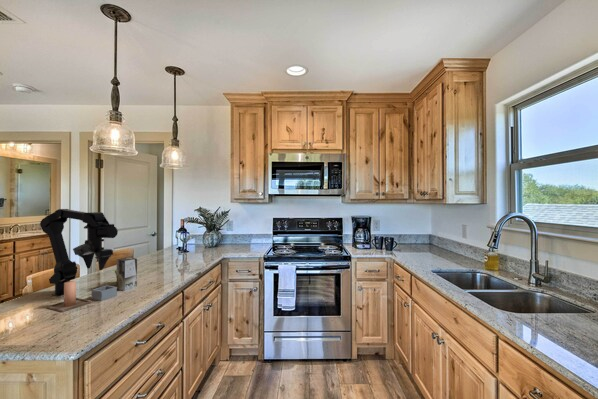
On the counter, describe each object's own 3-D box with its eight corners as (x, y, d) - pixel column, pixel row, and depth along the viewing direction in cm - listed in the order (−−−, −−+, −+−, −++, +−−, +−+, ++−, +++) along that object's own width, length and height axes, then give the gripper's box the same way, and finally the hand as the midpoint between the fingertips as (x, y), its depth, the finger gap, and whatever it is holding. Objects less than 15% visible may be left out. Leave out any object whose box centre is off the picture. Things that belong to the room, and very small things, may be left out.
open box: (91, 300, 126) (91, 289, 126) (107, 295, 133) (107, 285, 133) (101, 302, 124) (101, 291, 124) (116, 297, 130) (116, 287, 130)
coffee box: (137, 288, 143) (137, 258, 143) (124, 292, 137) (124, 260, 137) (128, 285, 148) (129, 256, 148) (115, 289, 142) (116, 258, 142)
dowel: (61, 305, 117) (62, 282, 117) (72, 302, 121) (72, 280, 121) (67, 307, 116) (67, 283, 116) (78, 303, 119) (78, 281, 120)
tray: (46, 309, 115) (46, 306, 115) (76, 300, 126) (76, 297, 126) (62, 313, 111) (62, 310, 111) (92, 304, 122) (92, 300, 122)
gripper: (64, 238, 128) (63, 271, 128) (89, 240, 122) (89, 275, 121) (89, 236, 139) (89, 266, 139) (113, 237, 132) (113, 269, 132)
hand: (94, 269), depth 132 cm, fingers open, 9 cm apart
